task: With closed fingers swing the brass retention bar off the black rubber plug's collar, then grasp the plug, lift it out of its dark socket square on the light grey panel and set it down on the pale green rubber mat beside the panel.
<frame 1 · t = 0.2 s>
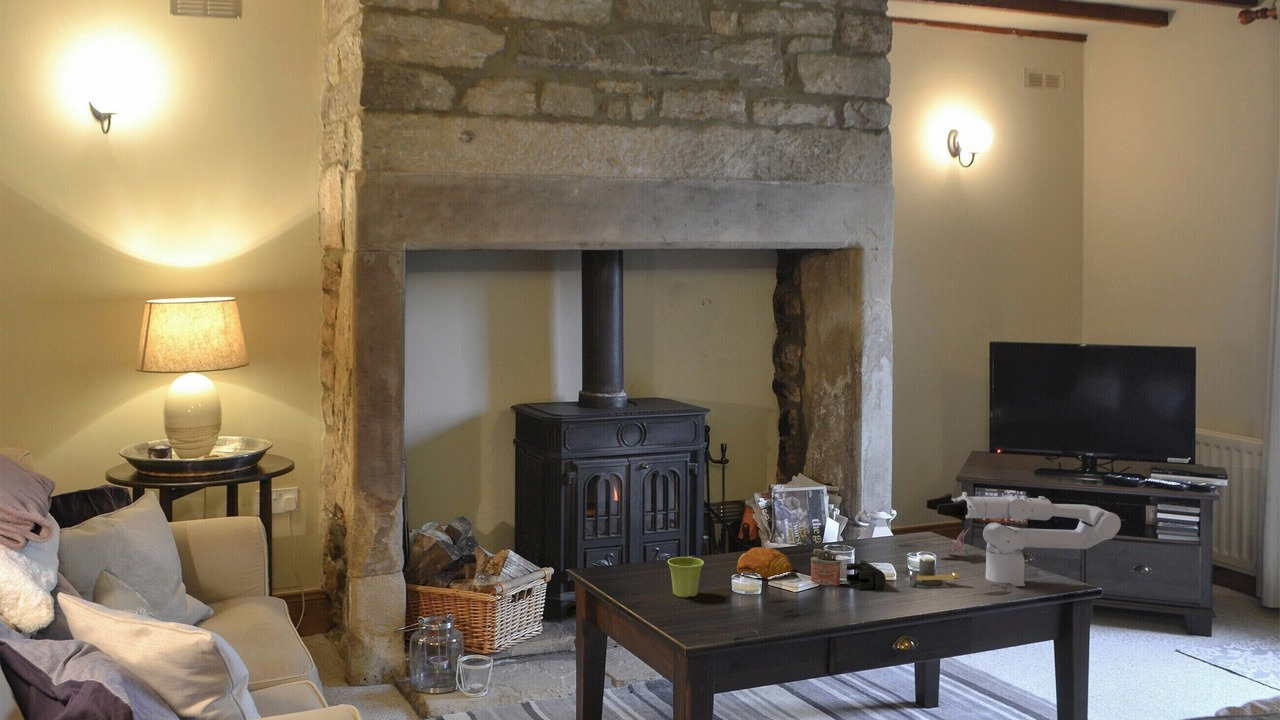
hand: (932, 506, 299), 21 cm above the table, tool horizontal, fingers open, 7 cm apart
clip: (934, 578, 295), point 3 cm above the table, hinge at 0.0°
panel: (932, 588, 297), on the table
plant pot: (685, 595, 290), on the table
lily: (957, 559, 329), on the table
plug: (926, 582, 298), point 1 cm above the table, touching panel
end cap: (865, 590, 296), on the table
croissant: (761, 574, 311), on the table
mat: (928, 577, 308), on the table
lighter: (825, 587, 298), on the table
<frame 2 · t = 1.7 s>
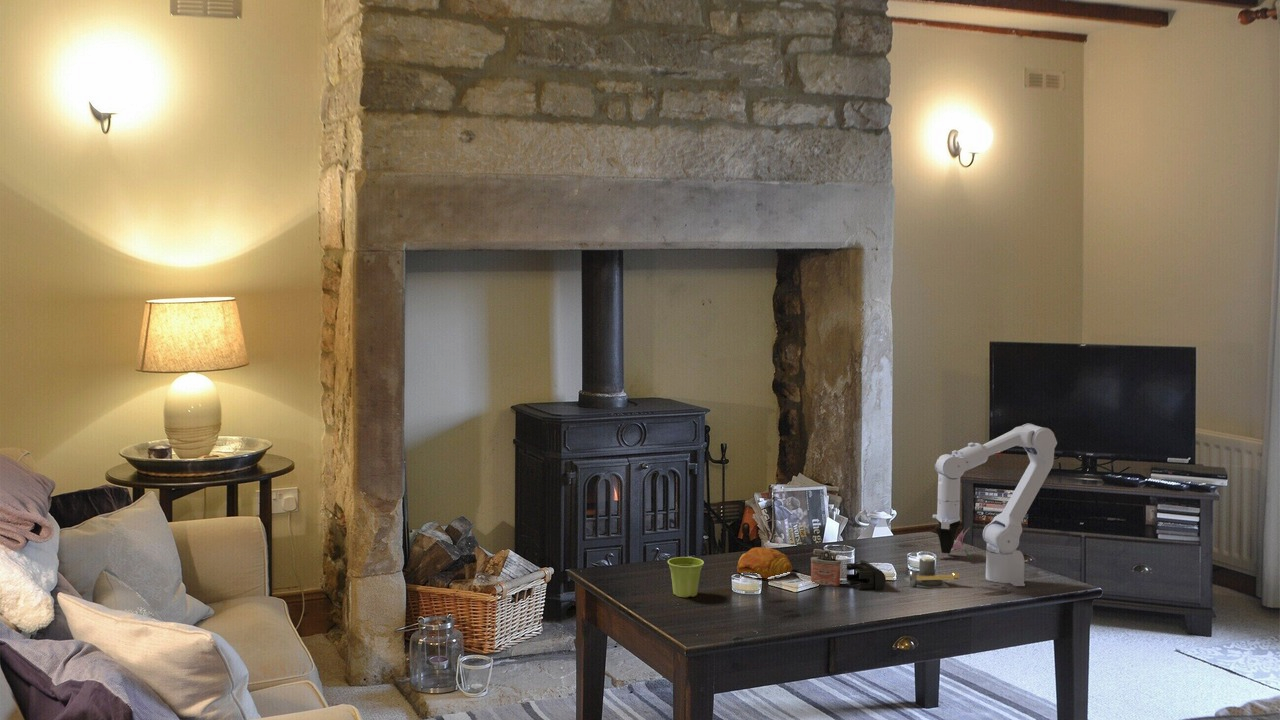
hand: (947, 550, 300), 9 cm above the table, tool pointing down, fingers open, 6 cm apart
nothing on the table moved.
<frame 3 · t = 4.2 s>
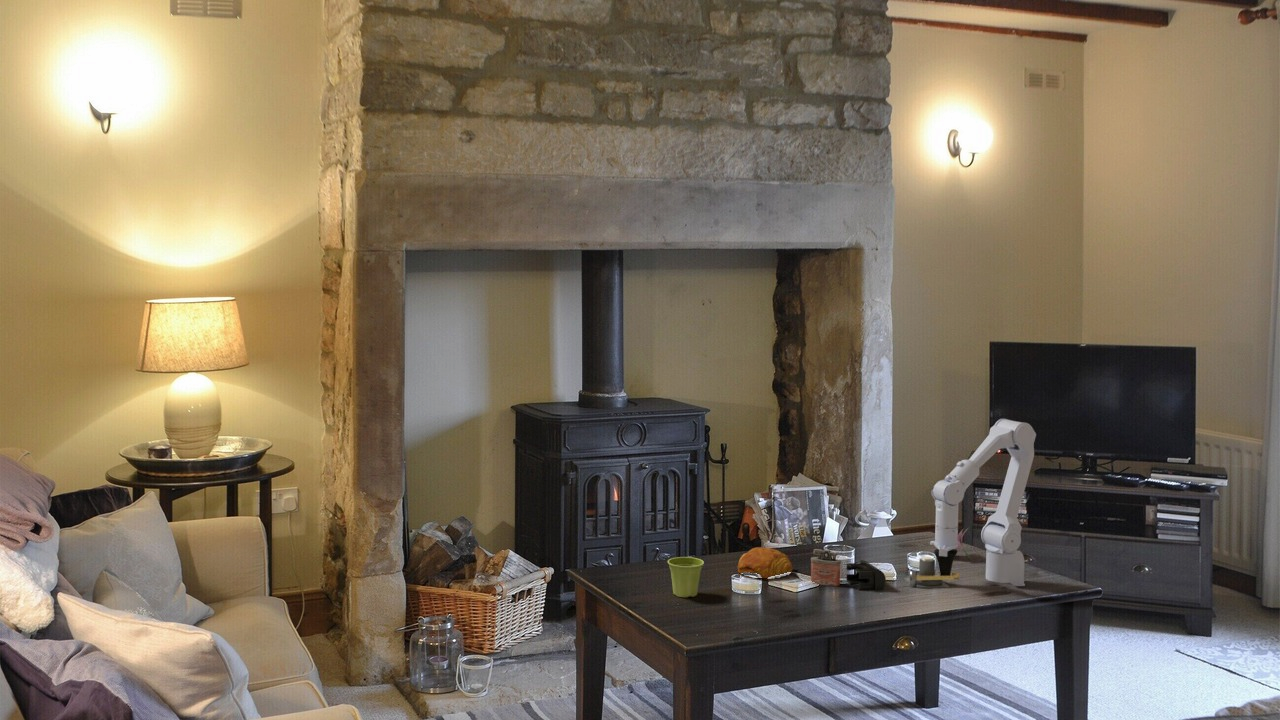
hand: (945, 577, 296), 3 cm above the table, tool pointing down, fingers closed, pressing on clip
clip: (934, 578, 295), point 3 cm above the table, hinge at 0.4°, touching gripper
everything else where it was.
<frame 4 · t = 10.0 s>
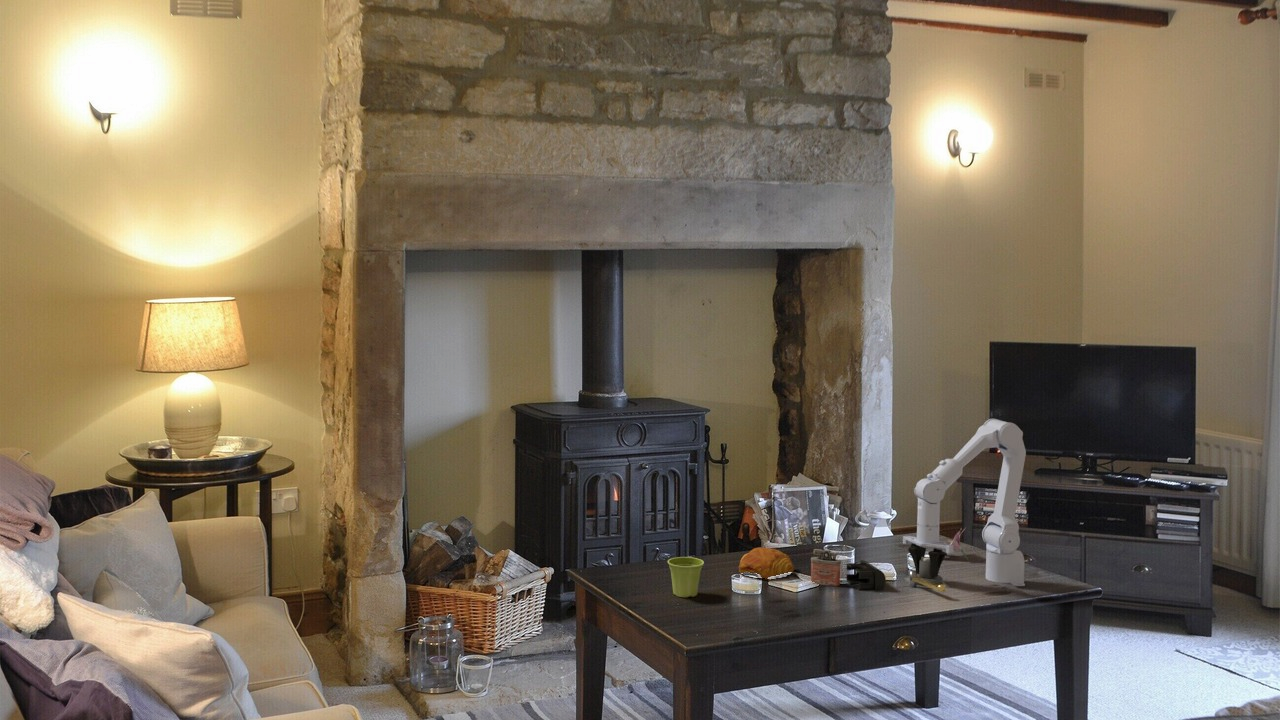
hand: (926, 575, 298), 3 cm above the table, tool pointing down, fingers closed on plug, 4 cm apart
clip: (927, 584, 289), point 3 cm above the table, hinge at 72.1°
plug: (926, 582, 298), point 1 cm above the table, touching gripper, panel
when the fingers open (4 cm above the table, at t = 13.3 s): plug stays where it is, resting on mat.
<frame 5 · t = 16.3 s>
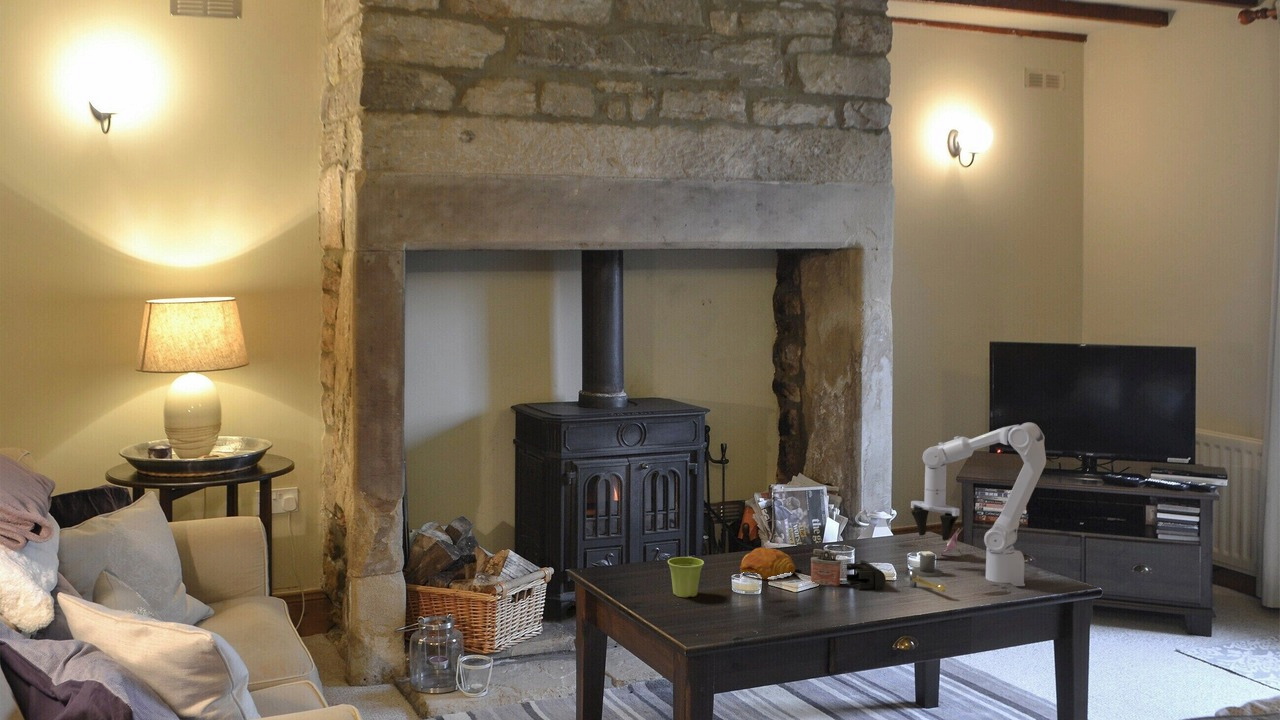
hand: (933, 537, 312), 10 cm above the table, tool pointing down, fingers open, 7 cm apart
plug: (927, 576, 308), resting on mat
at the end: clip at +72° (first picture: +0°); plug inside the target area (0.6 cm from its centre), resting on mat; plug tilted 0° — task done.
